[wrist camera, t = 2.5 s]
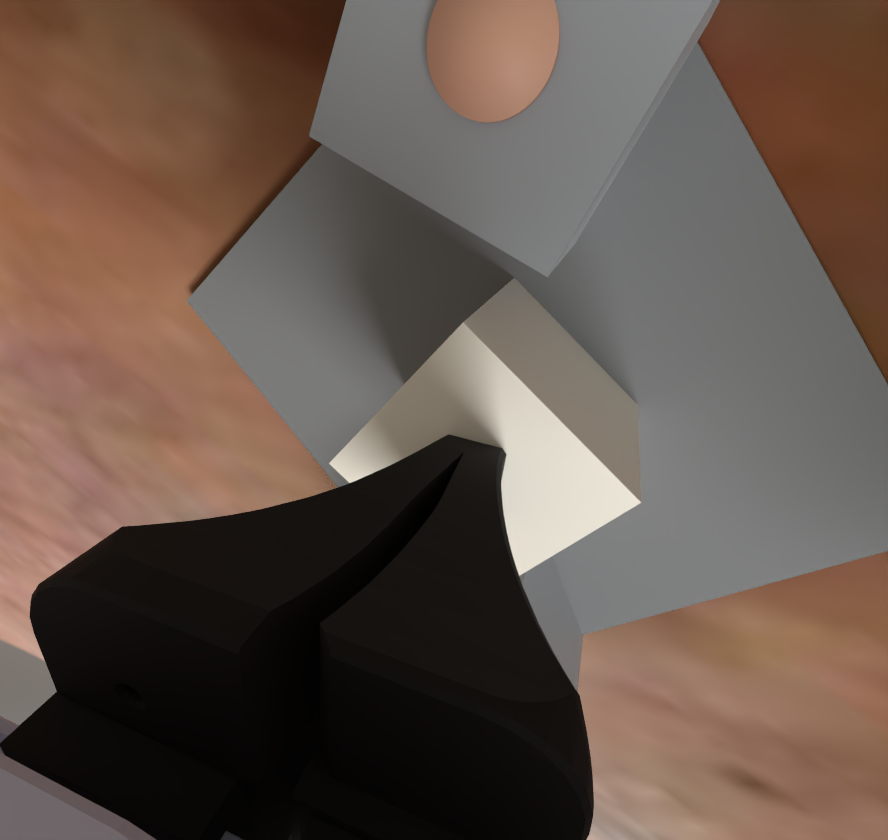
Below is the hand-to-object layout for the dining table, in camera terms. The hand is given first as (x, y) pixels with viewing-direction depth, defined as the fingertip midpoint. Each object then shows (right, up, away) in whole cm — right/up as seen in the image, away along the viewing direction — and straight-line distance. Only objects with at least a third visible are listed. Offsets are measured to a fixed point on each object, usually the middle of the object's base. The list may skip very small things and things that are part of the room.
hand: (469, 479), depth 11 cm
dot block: (+2, +9, +1) cm, 9 cm away
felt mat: (+2, +2, +5) cm, 5 cm away
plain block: (+2, +2, +4) cm, 5 cm away
